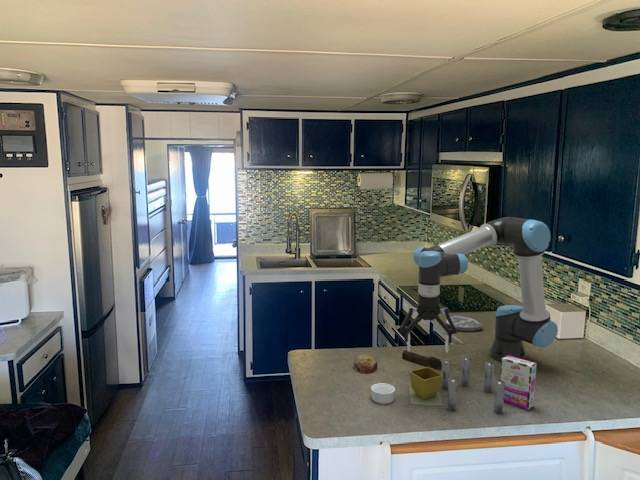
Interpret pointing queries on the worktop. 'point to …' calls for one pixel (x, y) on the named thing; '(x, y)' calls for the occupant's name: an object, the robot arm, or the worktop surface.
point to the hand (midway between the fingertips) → (427, 350)
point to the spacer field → (451, 384)
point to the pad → (424, 402)
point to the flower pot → (425, 382)
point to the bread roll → (365, 363)
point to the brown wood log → (423, 359)
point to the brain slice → (465, 323)
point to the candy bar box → (518, 381)
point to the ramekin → (382, 393)
